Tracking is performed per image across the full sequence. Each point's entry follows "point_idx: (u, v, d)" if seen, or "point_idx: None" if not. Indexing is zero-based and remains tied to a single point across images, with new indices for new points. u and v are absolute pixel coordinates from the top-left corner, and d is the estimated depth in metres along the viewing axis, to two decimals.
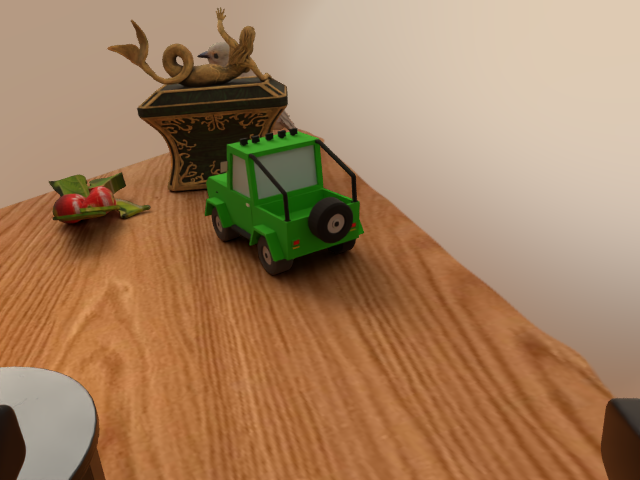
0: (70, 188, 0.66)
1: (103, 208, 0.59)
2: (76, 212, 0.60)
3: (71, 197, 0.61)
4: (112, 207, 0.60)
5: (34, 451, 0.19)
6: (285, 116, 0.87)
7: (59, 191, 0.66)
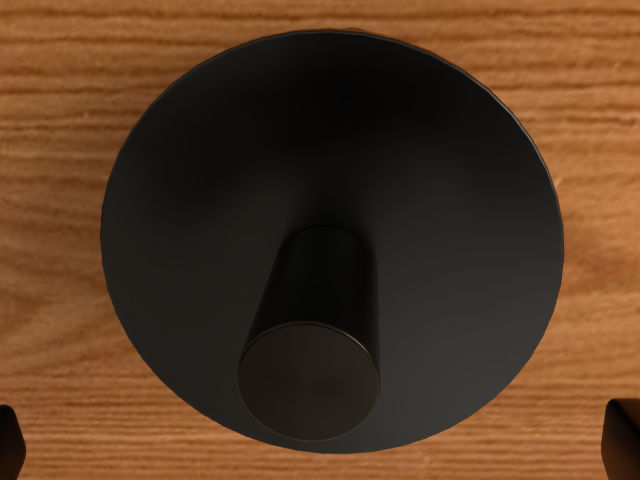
0: None
1: None
2: None
3: None
4: None
5: None
6: None
7: None
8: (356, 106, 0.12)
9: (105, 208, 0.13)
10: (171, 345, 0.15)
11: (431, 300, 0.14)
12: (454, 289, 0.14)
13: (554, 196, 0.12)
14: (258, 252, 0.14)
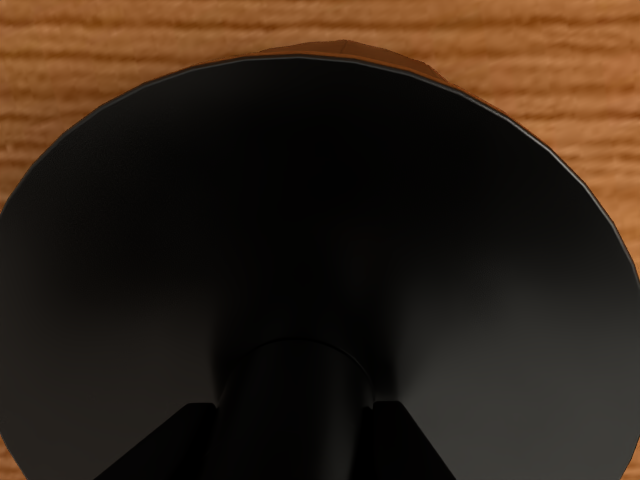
0: None
1: None
2: None
3: None
4: None
5: None
6: None
7: None
8: (342, 170, 0.08)
9: None
10: None
11: (453, 441, 0.09)
12: (487, 427, 0.09)
13: None
14: (202, 372, 0.09)
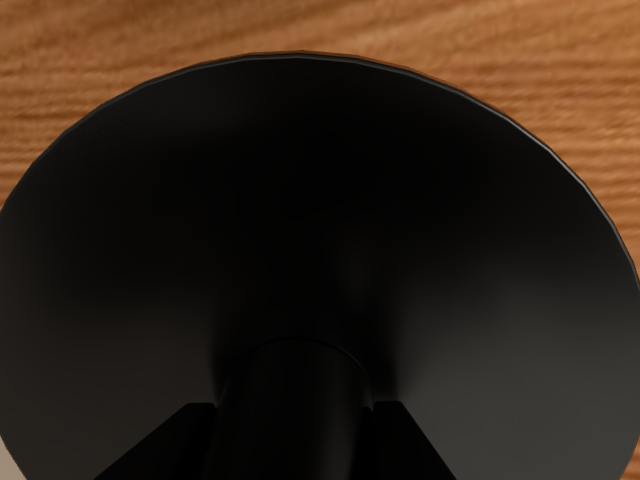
0: None
1: None
2: None
3: None
4: None
5: None
6: None
7: None
8: (342, 170, 0.08)
9: None
10: None
11: (453, 441, 0.09)
12: (487, 427, 0.09)
13: None
14: (201, 372, 0.09)
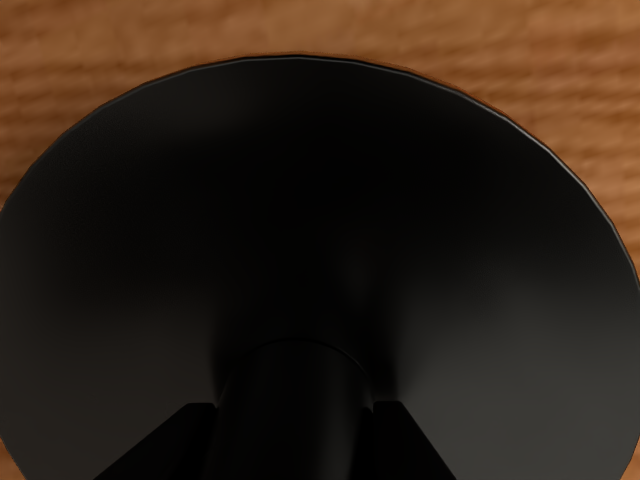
0: None
1: None
2: None
3: None
4: None
5: None
6: None
7: None
8: (342, 171, 0.08)
9: None
10: None
11: (453, 441, 0.09)
12: (487, 428, 0.09)
13: None
14: (201, 373, 0.09)
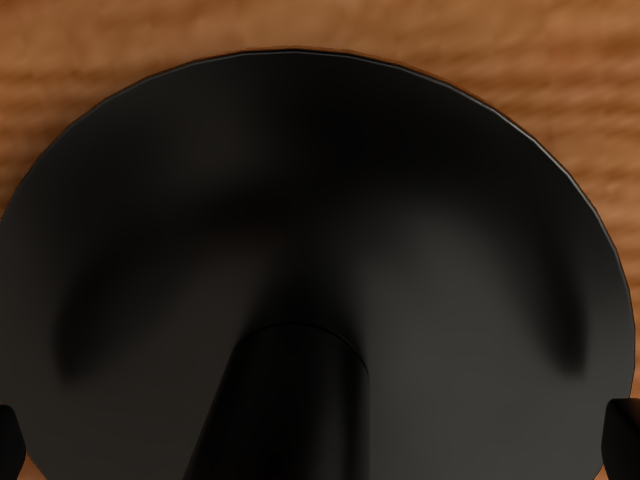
0: None
1: None
2: None
3: None
4: None
5: None
6: None
7: None
8: (337, 160, 0.08)
9: None
10: (90, 472, 0.11)
11: (445, 423, 0.10)
12: (477, 409, 0.10)
13: (625, 289, 0.09)
14: (202, 357, 0.10)
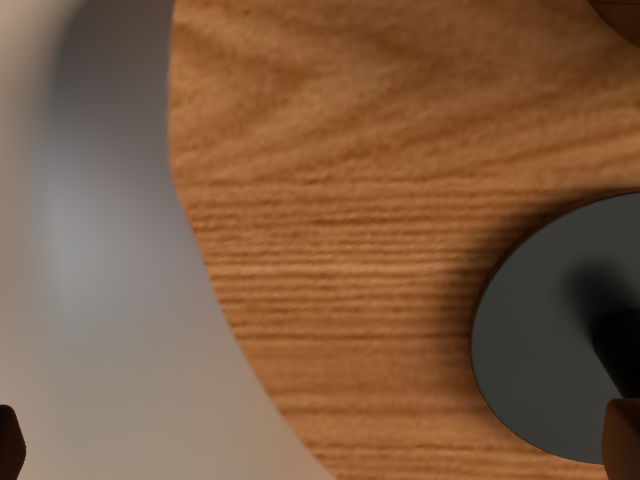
0: None
1: None
2: None
3: None
4: None
5: (598, 424, 0.21)
6: None
7: None
8: None
9: (484, 297, 0.20)
10: (507, 388, 0.21)
11: None
12: None
13: None
14: (587, 327, 0.20)
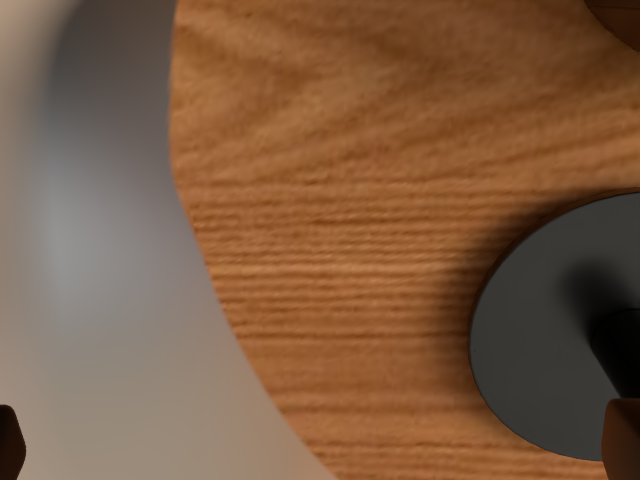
0: None
1: None
2: None
3: None
4: None
5: (595, 422, 0.22)
6: None
7: None
8: None
9: (483, 296, 0.20)
10: (505, 386, 0.21)
11: None
12: None
13: None
14: (584, 326, 0.20)
